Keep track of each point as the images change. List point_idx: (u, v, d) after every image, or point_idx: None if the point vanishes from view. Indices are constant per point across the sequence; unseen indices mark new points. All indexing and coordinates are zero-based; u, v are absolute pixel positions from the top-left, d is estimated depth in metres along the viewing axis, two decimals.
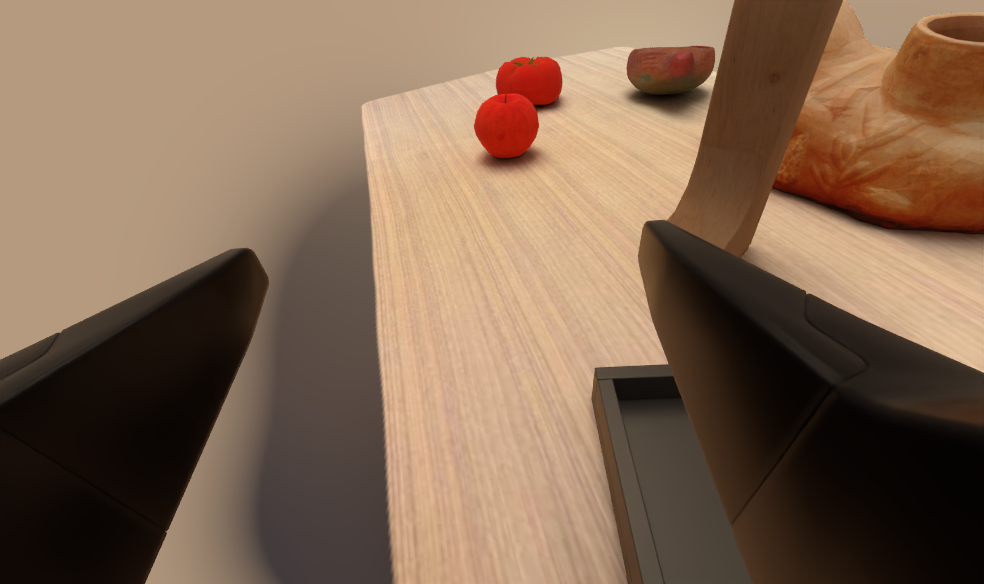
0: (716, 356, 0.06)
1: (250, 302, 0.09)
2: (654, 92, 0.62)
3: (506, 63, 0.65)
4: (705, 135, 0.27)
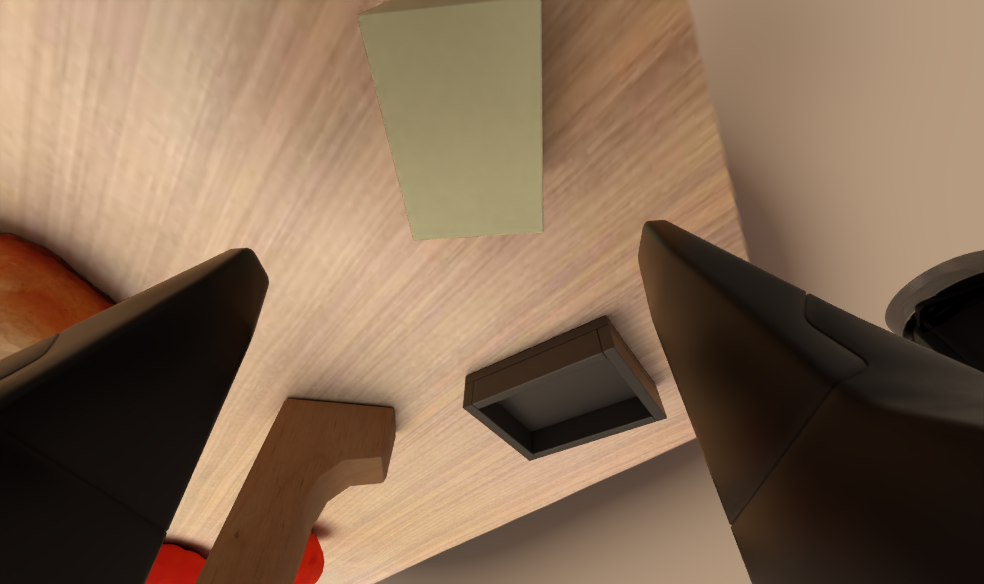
0: (717, 356, 0.06)
1: (250, 302, 0.09)
2: None
3: None
4: (304, 550, 0.29)
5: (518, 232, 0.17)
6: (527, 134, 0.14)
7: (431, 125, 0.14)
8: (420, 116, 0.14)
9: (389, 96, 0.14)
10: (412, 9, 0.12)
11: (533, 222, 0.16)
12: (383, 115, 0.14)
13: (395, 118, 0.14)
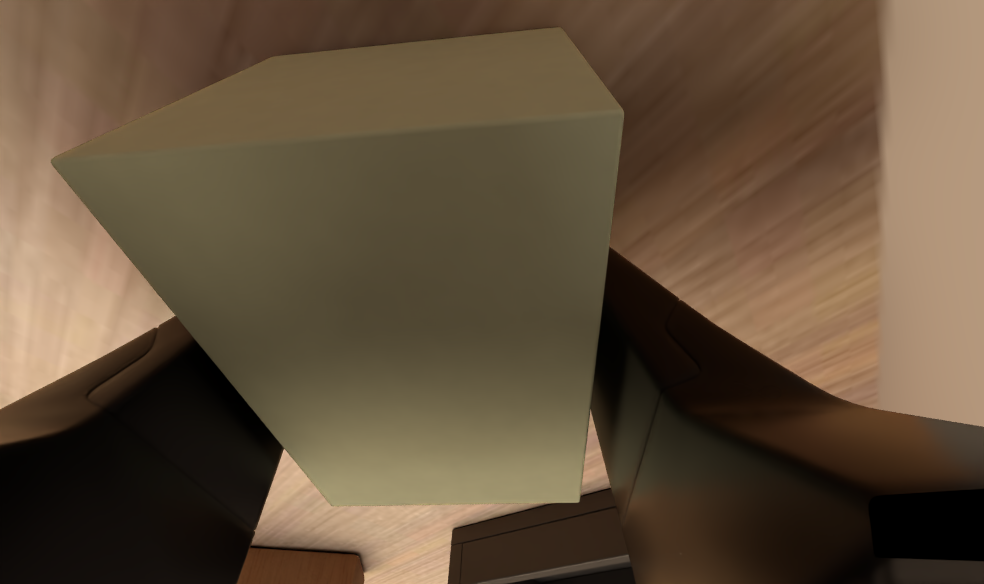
0: (602, 361, 0.06)
1: None
2: None
3: None
4: None
5: (531, 502, 0.09)
6: (557, 387, 0.06)
7: (331, 372, 0.06)
8: (299, 359, 0.06)
9: (213, 325, 0.05)
10: (212, 146, 0.04)
11: (561, 493, 0.08)
12: (211, 355, 0.06)
13: (241, 361, 0.06)
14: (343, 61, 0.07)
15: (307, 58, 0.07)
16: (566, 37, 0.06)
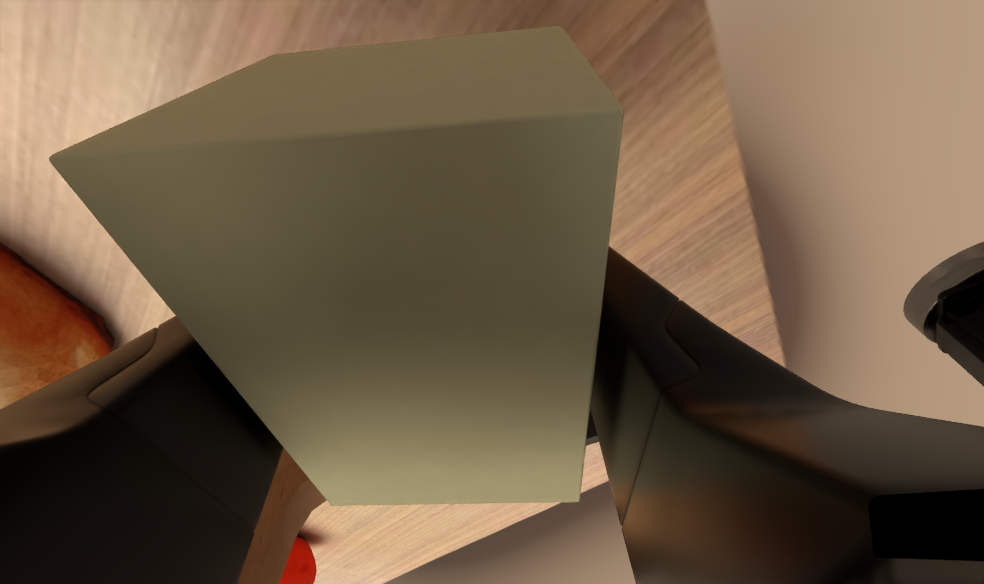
0: (602, 361, 0.06)
1: None
2: None
3: None
4: None
5: (531, 501, 0.09)
6: (557, 386, 0.06)
7: (330, 370, 0.06)
8: (298, 357, 0.06)
9: (212, 324, 0.05)
10: (211, 144, 0.04)
11: (561, 492, 0.08)
12: (210, 354, 0.06)
13: (241, 360, 0.06)
14: (342, 59, 0.06)
15: (306, 56, 0.07)
16: (566, 35, 0.06)
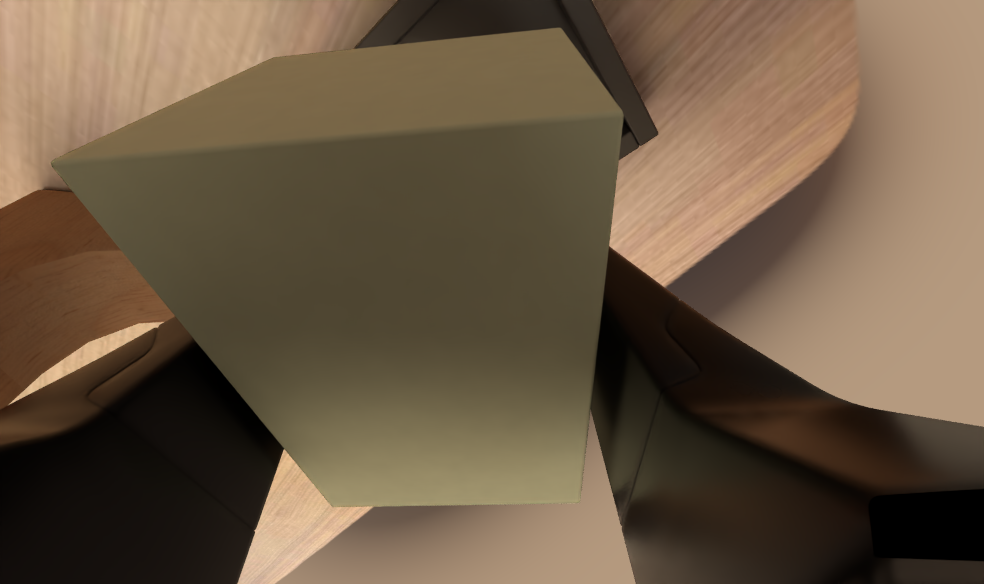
0: (602, 361, 0.06)
1: None
2: None
3: None
4: (5, 402, 0.16)
5: (531, 503, 0.09)
6: (557, 388, 0.06)
7: (331, 373, 0.06)
8: (299, 360, 0.06)
9: (214, 327, 0.05)
10: (212, 148, 0.04)
11: (562, 493, 0.08)
12: (212, 356, 0.06)
13: (242, 362, 0.06)
14: (343, 62, 0.07)
15: (307, 59, 0.07)
16: (566, 38, 0.06)
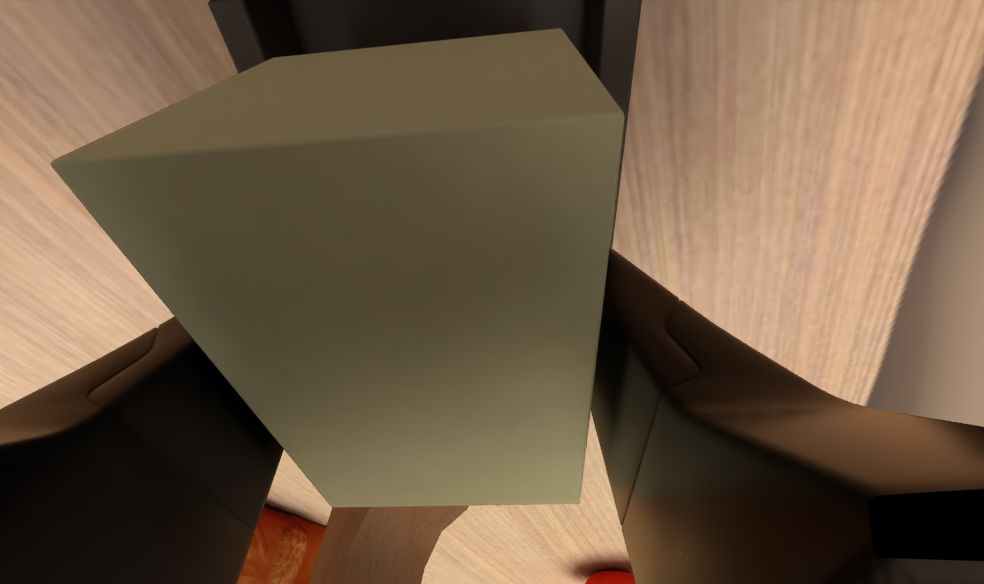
0: (602, 361, 0.06)
1: None
2: None
3: None
4: None
5: (531, 503, 0.09)
6: (557, 388, 0.06)
7: (330, 373, 0.06)
8: (299, 360, 0.06)
9: (213, 327, 0.05)
10: (212, 149, 0.04)
11: (561, 493, 0.08)
12: (211, 357, 0.06)
13: (242, 363, 0.06)
14: (343, 62, 0.07)
15: (307, 59, 0.07)
16: (566, 38, 0.06)
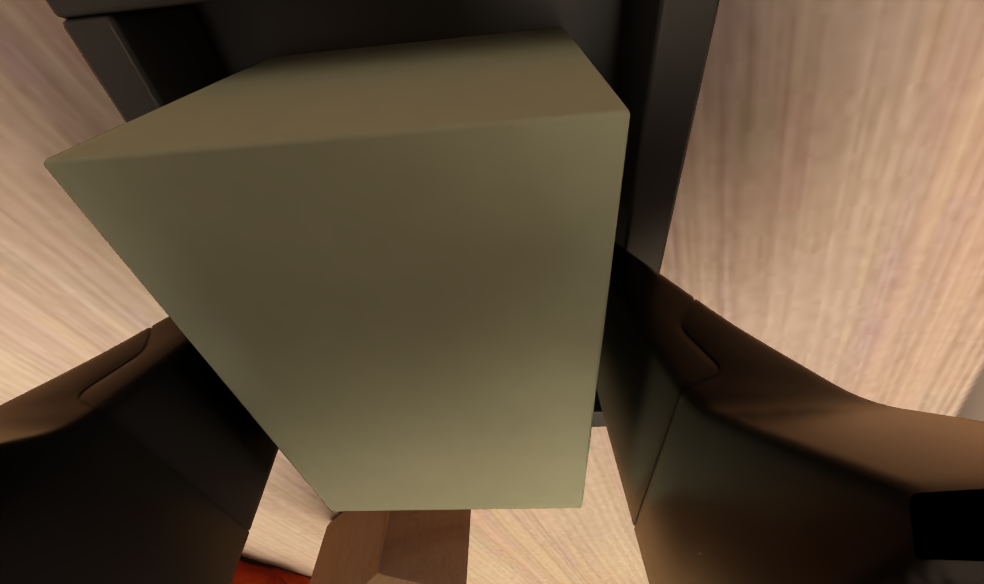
0: (615, 360, 0.06)
1: None
2: None
3: None
4: None
5: (533, 507, 0.09)
6: (559, 392, 0.06)
7: (330, 376, 0.06)
8: (297, 363, 0.06)
9: (211, 329, 0.05)
10: (208, 148, 0.04)
11: (563, 497, 0.08)
12: (209, 360, 0.06)
13: (239, 366, 0.06)
14: (343, 61, 0.06)
15: (306, 58, 0.07)
16: (569, 37, 0.06)
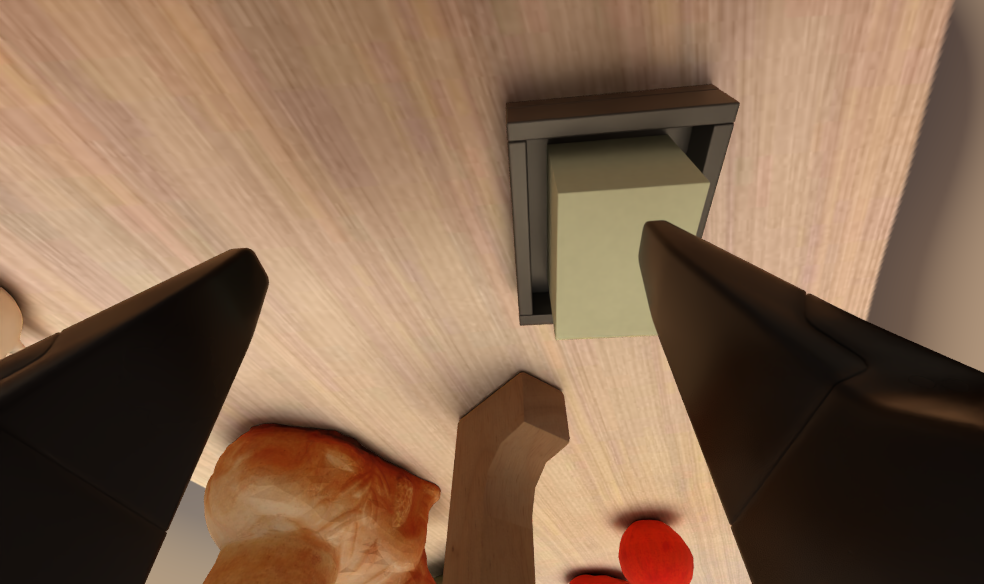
0: (716, 356, 0.06)
1: (250, 302, 0.09)
2: None
3: None
4: (531, 540, 0.27)
5: (647, 335, 0.20)
6: None
7: (596, 263, 0.17)
8: (588, 257, 0.17)
9: (567, 244, 0.16)
10: (604, 190, 0.15)
11: None
12: (558, 256, 0.17)
13: (567, 258, 0.17)
14: (592, 152, 0.18)
15: (569, 147, 0.18)
16: (675, 143, 0.17)
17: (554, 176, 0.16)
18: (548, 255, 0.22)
